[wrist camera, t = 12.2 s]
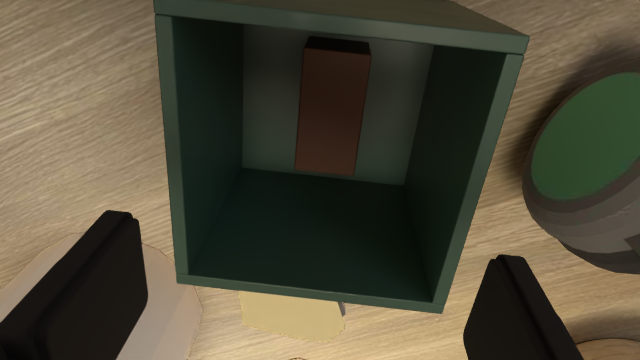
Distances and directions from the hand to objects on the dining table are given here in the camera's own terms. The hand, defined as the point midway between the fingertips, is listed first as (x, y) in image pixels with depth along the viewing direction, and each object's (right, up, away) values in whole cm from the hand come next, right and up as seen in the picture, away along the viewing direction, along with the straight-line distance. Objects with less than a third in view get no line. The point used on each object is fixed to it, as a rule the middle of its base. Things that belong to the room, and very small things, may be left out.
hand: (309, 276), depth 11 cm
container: (-17, -8, +25) cm, 31 cm away
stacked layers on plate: (-1, -3, +22) cm, 22 cm away
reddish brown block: (+1, +8, +15) cm, 17 cm away
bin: (+1, +8, +15) cm, 17 cm away
